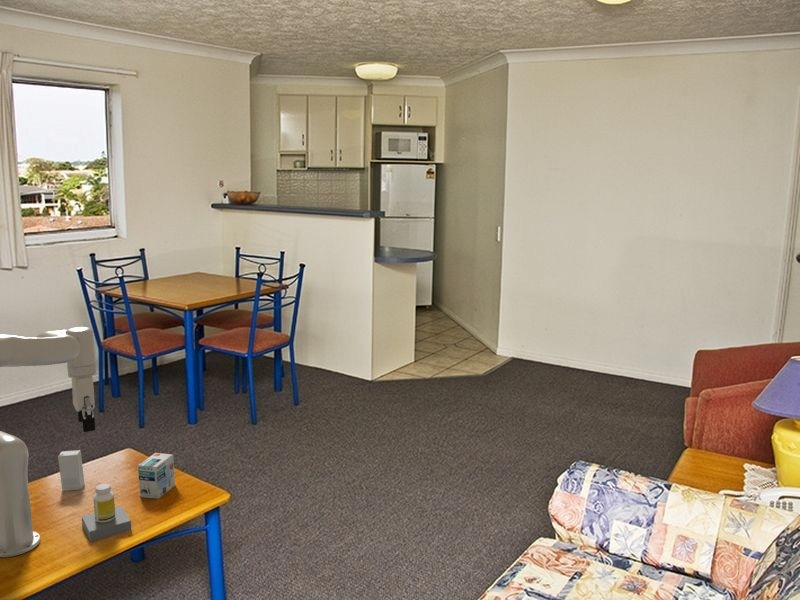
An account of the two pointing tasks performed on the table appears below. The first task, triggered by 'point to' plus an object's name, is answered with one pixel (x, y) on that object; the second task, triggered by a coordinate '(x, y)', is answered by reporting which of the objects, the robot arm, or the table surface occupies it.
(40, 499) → the table surface
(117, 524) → the slate base block
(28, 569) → the table surface
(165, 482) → the light bulb box
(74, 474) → the skincare box
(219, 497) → the table surface
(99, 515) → the supplement bottle
